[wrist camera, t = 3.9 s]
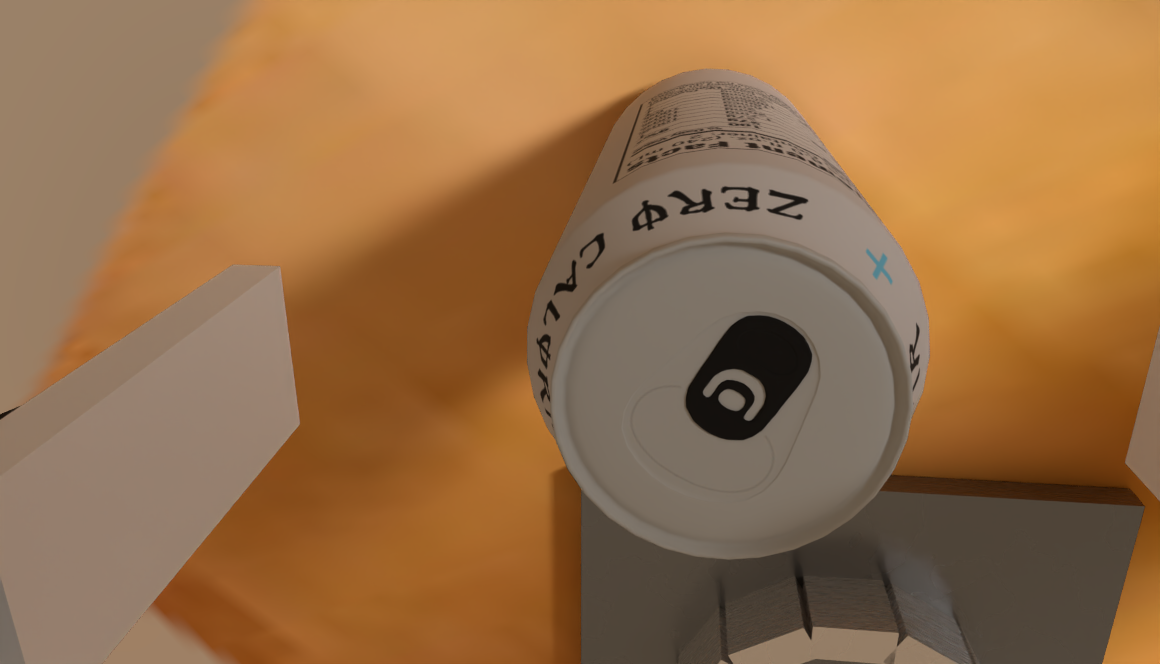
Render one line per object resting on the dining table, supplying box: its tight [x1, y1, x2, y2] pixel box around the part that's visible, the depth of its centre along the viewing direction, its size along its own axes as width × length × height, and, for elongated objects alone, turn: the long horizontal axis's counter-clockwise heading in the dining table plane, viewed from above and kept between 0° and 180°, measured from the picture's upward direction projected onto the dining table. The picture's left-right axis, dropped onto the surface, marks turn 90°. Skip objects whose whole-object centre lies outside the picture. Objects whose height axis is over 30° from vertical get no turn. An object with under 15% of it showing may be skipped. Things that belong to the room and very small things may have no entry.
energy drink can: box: [527, 69, 930, 560], centre depth 19 cm, size 6×6×15 cm
